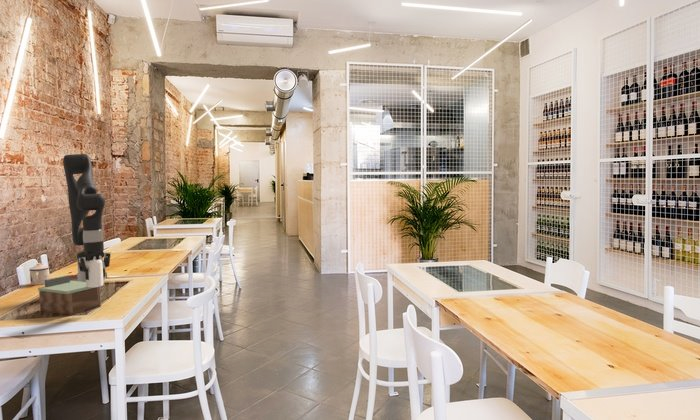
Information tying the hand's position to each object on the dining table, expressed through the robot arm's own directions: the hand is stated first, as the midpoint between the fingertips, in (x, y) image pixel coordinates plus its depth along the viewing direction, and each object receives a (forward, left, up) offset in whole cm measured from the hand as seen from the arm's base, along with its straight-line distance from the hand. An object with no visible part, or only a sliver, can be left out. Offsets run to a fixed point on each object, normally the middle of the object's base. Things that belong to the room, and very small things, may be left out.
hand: (95, 279), depth 192 cm
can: (0, 0, -3) cm, 3 cm away
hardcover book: (-64, +40, -15) cm, 77 cm away
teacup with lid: (-84, +26, -14) cm, 89 cm away
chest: (-16, -1, -14) cm, 21 cm away
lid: (-16, -1, -5) cm, 17 cm away
